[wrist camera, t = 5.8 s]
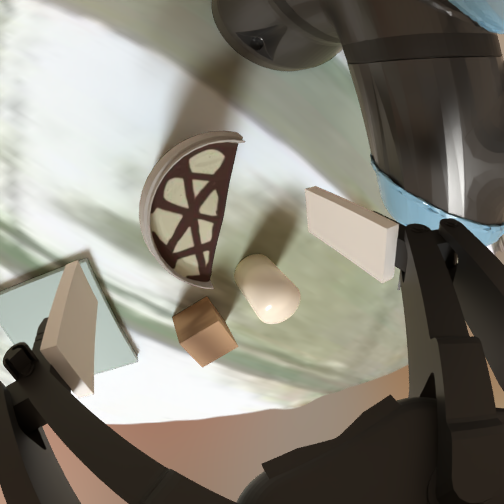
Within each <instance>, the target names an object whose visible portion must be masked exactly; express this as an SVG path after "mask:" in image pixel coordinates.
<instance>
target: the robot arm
mask: <svg viewBox="0 0 504 504" xmlns="http://www.w3.org/2000/svg"><path fill="white" fill-rule="evenodd" d="M212 13H213V17H214V20H215V23H216V25H217V27H218V29H219V31H220V33H221V34H222V36H223V37H224V39H225V40H226V41H227V42H228V43H229V44H230V46H231V47H232V48H234V49H235V50H236V51H237V52H238V53H239V54H241V55H242V56H243V57H245V58H247V59H248V60H250V61H252V62H254V63H256V64H258V65H260V66H263V67H266V68H269V69H273V70H279V71H298V70H303V69H308V68H312V67H316V66H319V65H321V64H323V63H325V62H327V61H329V60H330V59H332V58H333V57H334V56H335V55H336V54H338V53H339V52H340V51H341V50H343V51H344V53H345V56H346V59H347V62H348V67H349V70H350V73H351V76H352V79H353V83H354V86H355V90H356V93H357V97H358V100H359V104H360V108H361V111H362V115H363V119H364V123H365V127H366V132H367V136H368V140H369V145H370V150H371V154H370V157H371V165H372V167H373V169H374V170H375V172H376V176H377V180H378V184H379V189H380V193H381V197H382V200H383V203H384V205H385V207H386V209H387V210H388V212H389V213H390V214H391V216H392V217H393V218H394V219H395V220H396V221H394V220H392V219H389V218H388V217H386V216H383V215H382V214H380V213H378V212H375V211H371V210H368V209H366V208H364V207H362V206H360V205H358V204H355V203H353V202H351V201H349V200H347V199H344V198H342V197H340V196H337V195H335V194H333V193H331V192H328V191H326V190H324V189H321V188H319V187H316V186H314V187H311V188H307V189H305V197H306V208H307V220H308V232H310V233H311V234H313V235H314V236H316V237H317V238H319V239H320V240H322V241H323V242H325V243H326V244H327V245H329V246H330V247H332V248H333V249H335V250H336V251H338V252H339V253H340V254H342V255H343V256H345V257H346V258H348V259H349V260H350V261H352V262H353V263H355V264H356V265H357V266H359V267H360V268H362V269H363V270H364V271H366V272H367V273H369V274H370V275H371V276H373V277H374V278H375V279H377V280H378V281H380V282H381V283H384V282H386V281H388V280H390V279H392V278H393V277H394V270H395V266H396V267H397V268H399V269H400V277H399V284H398V290H400V287H401V290H402V298H403V306H404V314H405V323H406V334H407V347H408V363H409V397H408V398H405V399H401V400H397V401H396V400H395V399H394V398H393V397H392V396H391V395H389V396H387V397H386V398H385V399H383V400H382V401H380V402H379V403H377V404H376V405H374V406H373V407H371V408H369V409H368V410H366V411H364V412H363V413H362V414H361V415H360V416H359V417H358V418H357V419H356V420H355V421H354V422H353V423H352V424H351V425H350V426H349V427H348V428H347V429H346V430H345V431H344V432H343V433H342V434H341V435H340V436H338V437H337V438H335V439H332V440H328V441H325V442H321V443H317V444H313V445H309V446H306V447H301V448H297V449H295V450H292V451H290V452H288V453H286V454H284V455H282V456H279V457H277V458H274V459H272V460H270V461H267V462H265V463H262V466H263V469H264V472H263V473H261V474H260V475H259V476H257V477H256V478H255V479H254V480H253V481H252V482H250V483H249V485H248V486H247V487H246V488H245V489H244V491H243V492H242V493H241V495H240V497H239V499H238V500H237V502H233V501H231V500H229V499H227V498H225V497H223V496H221V495H219V494H216V493H214V492H212V491H210V490H209V489H206V488H205V487H203V486H201V485H199V484H197V483H195V482H193V481H191V480H190V479H188V478H186V477H184V476H183V475H181V474H179V473H177V472H176V471H174V470H172V469H168V468H166V467H164V466H163V465H161V464H160V463H158V462H156V461H155V460H154V459H152V458H151V457H149V456H148V455H146V454H145V453H143V452H141V451H140V450H139V449H137V448H136V447H135V446H133V445H132V444H131V443H129V442H128V441H126V440H125V439H124V438H123V437H121V436H120V435H119V434H117V433H116V432H115V431H113V430H112V429H111V428H110V427H108V426H107V425H106V424H105V423H104V422H102V421H101V420H100V419H99V418H98V417H96V416H95V415H94V414H93V413H92V412H91V411H90V410H88V409H87V408H86V407H85V406H84V405H83V404H82V403H81V402H80V401H78V400H77V399H76V398H75V397H74V396H73V395H72V394H71V390H72V391H73V393H74V394H75V395H76V396H77V397H78V398H81V397H85V396H89V395H93V394H94V352H95V333H96V320H97V308H98V301H97V299H96V297H95V295H94V293H93V291H92V289H91V287H90V285H89V283H88V281H87V278H86V276H85V274H84V272H83V270H82V268H81V265H80V263H79V261H78V260H77V261H74V262H71V263H68V264H66V266H65V269H64V271H63V274H62V277H61V280H60V283H59V286H58V288H57V291H56V294H55V298H54V301H53V304H52V307H51V310H50V314H49V317H47V318H44V319H43V321H42V322H41V324H40V325H39V327H38V330H37V334H36V335H37V336H36V337H35V342H34V344H33V348H32V350H31V349H30V347H29V346H28V345H27V344H26V343H25V342H19V343H17V344H15V345H13V346H12V347H11V348H10V349H9V350H8V351H7V352H6V354H5V356H4V358H3V365H4V366H5V368H6V369H7V370H8V371H9V373H10V374H11V375H12V376H13V377H14V379H15V380H16V381H15V382H13V383H12V384H10V385H8V386H6V387H5V386H4V385H3V383H2V382H1V381H0V485H1V488H2V491H3V494H4V497H5V499H6V502H7V504H81V503H80V501H79V500H78V498H77V496H76V494H75V493H74V491H73V489H72V488H71V486H70V484H69V482H68V481H67V479H66V477H65V475H64V473H63V471H62V469H61V467H60V465H59V463H58V461H57V459H56V457H55V455H54V453H53V451H52V448H51V446H50V444H49V442H48V439H47V437H46V435H45V432H44V430H43V428H42V426H44V425H45V424H47V423H48V425H49V426H50V427H51V428H52V429H53V431H54V432H55V433H56V434H57V435H58V436H59V438H60V439H61V440H62V441H63V442H64V443H65V445H66V446H67V447H68V448H69V449H70V450H71V451H72V452H73V453H74V454H75V455H76V456H77V457H78V458H79V459H80V460H81V461H82V462H83V463H84V464H85V465H86V466H87V467H88V468H89V469H90V470H91V471H92V472H93V473H94V474H95V475H96V476H97V477H98V478H99V479H100V480H101V481H103V482H104V483H105V484H106V485H107V486H108V487H109V488H110V489H112V490H113V491H114V492H115V493H116V494H117V495H119V496H120V497H121V498H122V499H124V500H125V501H126V502H127V503H129V504H504V408H495V402H494V397H493V391H492V386H491V381H490V376H489V371H488V367H487V363H486V359H487V361H488V363H489V365H490V367H491V369H492V371H493V373H494V375H495V377H496V379H497V381H498V383H499V385H500V386H501V388H502V389H503V391H504V265H503V264H502V263H501V262H500V260H499V259H498V258H497V257H496V256H495V255H494V254H493V253H492V252H491V251H490V250H489V249H488V248H487V247H486V246H488V245H490V244H493V243H494V242H496V241H498V239H499V237H500V236H502V235H503V234H504V61H503V57H502V54H501V49H500V44H499V40H498V36H497V33H498V34H504V0H212ZM457 259H458V264H457ZM465 321H466V323H467V325H468V326H469V328H470V329H471V331H472V333H473V335H474V337H470V336H469V333H468V330H467V326H466V323H465ZM485 357H486V359H485Z"/></svg>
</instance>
